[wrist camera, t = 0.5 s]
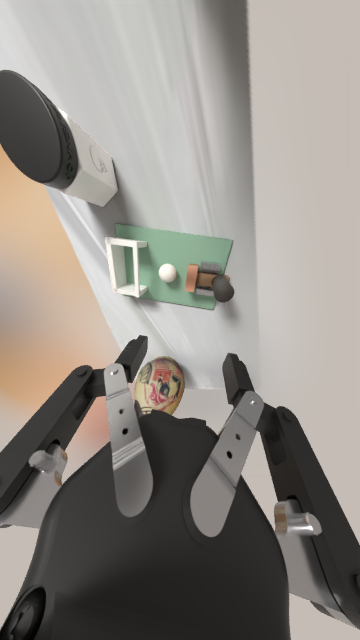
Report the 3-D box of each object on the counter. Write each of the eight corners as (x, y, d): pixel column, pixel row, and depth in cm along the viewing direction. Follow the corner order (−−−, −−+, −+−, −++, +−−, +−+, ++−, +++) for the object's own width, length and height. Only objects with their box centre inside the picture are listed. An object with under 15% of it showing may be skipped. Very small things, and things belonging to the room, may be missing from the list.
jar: (122, 205, 27) (75, 184, 17) (86, 208, 28) (21, 190, 18) (108, 136, 23) (33, 50, 12) (66, 143, 24) (-37, 68, 13)
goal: (118, 237, 30) (102, 237, 25) (146, 241, 29) (136, 241, 25) (123, 286, 35) (111, 293, 31) (147, 289, 35) (139, 297, 30)
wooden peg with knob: (189, 263, 30) (185, 272, 22) (229, 269, 30) (241, 280, 21) (186, 284, 33) (181, 300, 24) (223, 290, 32) (231, 308, 24)
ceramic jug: (193, 358, 46) (186, 503, 21) (177, 382, 54) (157, 508, 29) (147, 340, 45) (78, 472, 19) (138, 367, 53) (79, 486, 27)
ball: (161, 261, 31) (156, 263, 28) (178, 263, 31) (176, 266, 27) (160, 278, 33) (156, 282, 30) (176, 281, 33) (174, 285, 29)
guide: (201, 260, 30) (201, 262, 27) (219, 263, 30) (221, 265, 27) (195, 289, 33) (195, 293, 31) (211, 292, 33) (212, 296, 31)
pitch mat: (116, 223, 29) (114, 223, 28) (232, 240, 28) (232, 240, 27) (123, 294, 37) (122, 294, 37) (213, 308, 36) (213, 309, 35)
